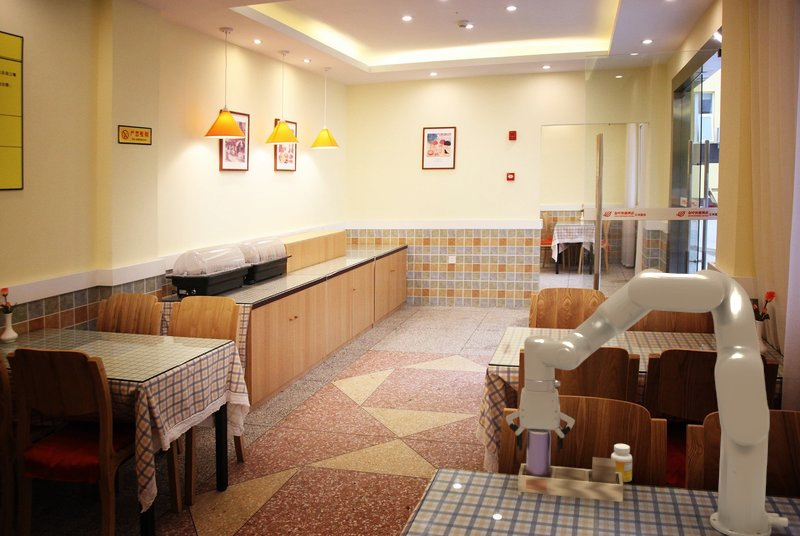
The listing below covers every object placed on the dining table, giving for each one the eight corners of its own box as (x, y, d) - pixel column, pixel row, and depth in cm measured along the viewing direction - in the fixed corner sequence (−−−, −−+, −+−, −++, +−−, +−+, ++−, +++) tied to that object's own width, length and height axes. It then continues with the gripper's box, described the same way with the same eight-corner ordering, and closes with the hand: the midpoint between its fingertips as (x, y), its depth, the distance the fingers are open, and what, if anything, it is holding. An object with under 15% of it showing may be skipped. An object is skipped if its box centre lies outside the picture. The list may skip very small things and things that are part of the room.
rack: (620, 491, 182) (621, 472, 181) (622, 506, 173) (623, 486, 172) (521, 481, 188) (521, 463, 188) (517, 495, 179) (518, 476, 179)
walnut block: (614, 489, 180) (615, 459, 180) (615, 498, 175) (616, 466, 174) (591, 487, 182) (592, 457, 181) (592, 495, 176) (592, 464, 176)
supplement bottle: (606, 479, 189) (606, 444, 188) (621, 476, 191) (622, 441, 190) (620, 487, 184) (621, 450, 183) (636, 483, 187) (637, 447, 186)
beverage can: (549, 491, 179) (551, 433, 177) (525, 489, 180) (526, 432, 179) (549, 482, 185) (550, 426, 183) (526, 480, 186) (527, 424, 184)
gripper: (574, 382, 181) (574, 447, 183) (506, 379, 186) (507, 443, 187) (574, 389, 174) (574, 457, 175) (503, 386, 178) (504, 453, 180)
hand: (539, 450), depth 181 cm, fingers open, 9 cm apart
